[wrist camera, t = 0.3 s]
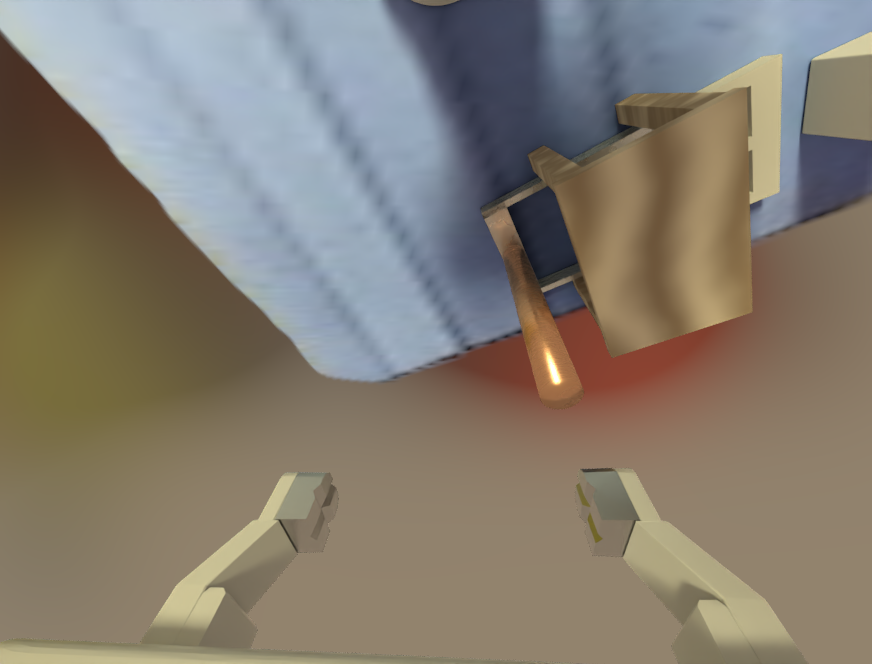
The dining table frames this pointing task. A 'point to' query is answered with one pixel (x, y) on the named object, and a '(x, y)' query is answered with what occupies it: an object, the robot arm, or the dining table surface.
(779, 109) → the pit deck
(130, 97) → the dining table surface
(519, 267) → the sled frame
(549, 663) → the robot arm
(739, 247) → the tunnel
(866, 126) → the milk carton
